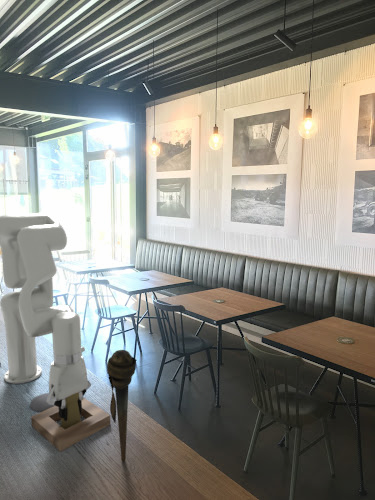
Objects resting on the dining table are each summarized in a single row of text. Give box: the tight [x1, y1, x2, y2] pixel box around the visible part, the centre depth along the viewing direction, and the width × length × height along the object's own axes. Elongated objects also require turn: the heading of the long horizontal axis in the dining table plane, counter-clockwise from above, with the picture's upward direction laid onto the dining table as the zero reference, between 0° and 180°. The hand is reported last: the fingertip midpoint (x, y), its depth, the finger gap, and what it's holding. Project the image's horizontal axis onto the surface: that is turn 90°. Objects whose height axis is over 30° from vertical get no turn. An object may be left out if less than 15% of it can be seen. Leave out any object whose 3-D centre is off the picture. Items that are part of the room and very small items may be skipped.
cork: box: [60, 392, 82, 429], centre depth 113 cm, size 6×6×11 cm
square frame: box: [30, 396, 111, 452], centre depth 113 cm, size 16×16×3 cm
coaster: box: [29, 392, 57, 413], centre depth 125 cm, size 10×10×1 cm
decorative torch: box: [106, 349, 137, 463], centre depth 96 cm, size 7×7×30 cm
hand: (70, 414), depth 113 cm, fingers closed on cork, 3 cm apart
